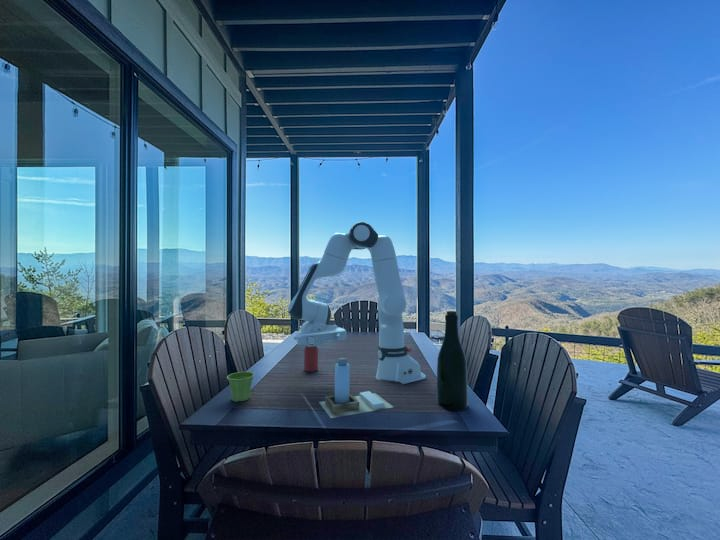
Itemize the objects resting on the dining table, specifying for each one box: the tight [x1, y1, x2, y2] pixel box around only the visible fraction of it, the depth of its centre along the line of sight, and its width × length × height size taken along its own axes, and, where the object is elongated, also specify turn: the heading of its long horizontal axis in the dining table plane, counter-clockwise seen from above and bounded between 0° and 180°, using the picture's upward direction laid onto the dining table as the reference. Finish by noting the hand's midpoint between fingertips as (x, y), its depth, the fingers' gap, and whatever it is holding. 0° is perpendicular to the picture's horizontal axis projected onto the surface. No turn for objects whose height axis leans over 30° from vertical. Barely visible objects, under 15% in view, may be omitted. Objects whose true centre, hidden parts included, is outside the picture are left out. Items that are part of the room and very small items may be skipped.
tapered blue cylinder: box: [334, 357, 351, 405], centre depth 108 cm, size 5×5×16 cm
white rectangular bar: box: [359, 390, 384, 409], centre depth 112 cm, size 4×12×2 cm, turn 23°
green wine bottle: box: [436, 310, 469, 412], centre depth 112 cm, size 10×10×33 cm
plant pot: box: [226, 371, 255, 403], centre depth 118 cm, size 9×9×9 cm
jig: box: [318, 392, 394, 419], centre depth 109 cm, size 22×14×4 cm, turn 113°
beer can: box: [303, 344, 319, 373], centre depth 155 cm, size 7×7×12 cm
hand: (327, 339), depth 121 cm, fingers open, 8 cm apart
